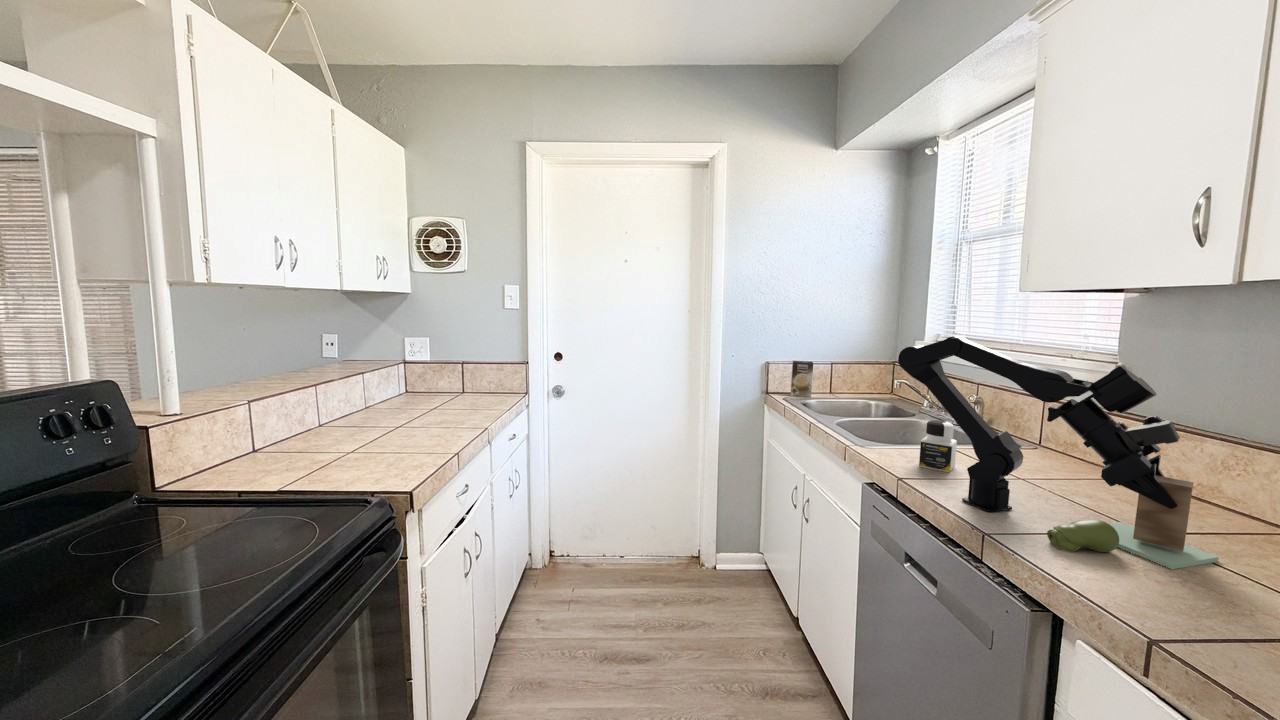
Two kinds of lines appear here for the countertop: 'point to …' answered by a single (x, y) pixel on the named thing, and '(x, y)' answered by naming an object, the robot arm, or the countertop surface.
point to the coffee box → (801, 379)
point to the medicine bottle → (938, 446)
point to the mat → (1160, 550)
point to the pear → (1084, 536)
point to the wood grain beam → (1164, 516)
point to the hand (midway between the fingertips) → (1175, 504)
